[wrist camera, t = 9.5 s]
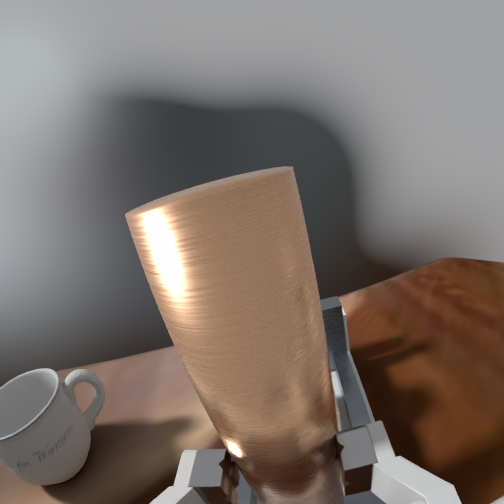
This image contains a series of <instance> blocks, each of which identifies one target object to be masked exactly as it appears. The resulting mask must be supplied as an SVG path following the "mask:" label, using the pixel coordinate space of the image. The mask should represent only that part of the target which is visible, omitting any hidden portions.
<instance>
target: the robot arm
mask: <svg viewBox="0 0 504 504" xmlns="http://www.w3.org/2000/svg"><path fill="white" fill-rule="evenodd" d="M336 441H337V448H338V462H339V467H340V471H342V482H343V487H344V492H345V496H348V495H352V494H357V493H361V492H365V491H369V490H371V492H373V493H374V494H375V495H376V496H378V497H379V498H380V499H381V500H382V501H384V502H385V503H386V504H461V501H460V499H459V497H458V494H457V492H456V490H455V488H454V485H452V484H450V483H448V482H446V481H444V480H442V479H441V478H439V477H437V476H435V475H433V474H431V473H430V472H428V471H426V470H424V469H422V468H421V467H419V466H417V465H415V464H414V463H412V462H410V461H408V460H407V459H405V458H403V457H402V456H397V457H396V456H395V453H394V451H393V448H392V446H391V443H390V440H389V438H388V435H387V433H386V430H385V428H384V425H383V422H381V421H377V422H373V423H370V424H366V425H361V426H358V427H354V428H350V429H346V430H342V431H338V432H337V433H336ZM239 480H240V476H239V469H238V467H237V465H236V464H235V462H234V460H232V459H231V455H230V453H229V452H228V450H227V449H206V450H184V452H183V453H182V455H181V459H180V463H179V467H178V471H177V474H176V478H175V482H174V486H169V487H168V488H167V489H166V490H165V491H163V492H162V493H161V494H160V495H159V496H158V497H157V498H155V499H154V500H153V501H152V502H151V503H149V504H238V493H237V492H236V490H235V488H236V487H237V486H238V485H239ZM490 504H504V495H503V496H502V497H500V498H499V499H497V500H495V501H494V502H492V503H490Z"/></svg>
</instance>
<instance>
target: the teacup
mask: <svg viewBox="0 0 504 504" xmlns="http://www.w3.org/2000/svg"><path fill="white" fill-rule="evenodd" d="M80 382H88V383H90V384H92V385H93V387H94V389H95V396H94V399H93V402H92V403H91V405H90V407H89V408H88V409H87V410H86V412H85V413H82V412H81V410H80V408H79V407H78V406H77V404H76V397H75V394H74V388H75V385H77V384H78V383H80ZM104 401H105V388H104V385H103V383H102V381H101V380H100V378H99V377H98V376H97V375H96V374H95V373H93V372H91V371H89V370H85V369H77V370H75V371H73V372H71V373H70V374H69V375H68V376H67V378H66V379H65V381H64V383H62V382H61V379H60V377H59V375H58V374H57V373H56V372H55V371H54V370H51V369H46V368H45V369H37V370H33V371H29V372H26V373H24V374H22V375H19V376H17V377H16V378H14V379H12V380H10V381H9V382H7V383H6V384H5V385H4V386H2V387H0V461H1V462H2V463H3V464H4V465H5V466H6V467H7V468H8V469H9V470H10V471H11V472H13V473H14V474H15V475H16V476H18V477H19V478H21V479H22V480H24V481H26V482H28V483H31V484H35V485H51V484H57V483H61V482H64V481H66V480H68V479H70V478H72V477H73V476H74V475H76V474H77V473H78V472H79V470H80V469H81V468H82V467H83V465H84V463H85V461H86V458H87V455H88V451H89V448H90V443H91V434H90V431H91V430H92V429H93V428H94V427H95V419H96V417H97V416H98V414H99V412H100V411H101V409H102V407H103V404H104Z"/></svg>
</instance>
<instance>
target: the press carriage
mask: <svg viewBox="0 0 504 504" xmlns="http://www.w3.org/2000/svg"><path fill="white" fill-rule="evenodd" d="M125 216H126V219H127V222H128V226H129V228H130V232H131V235H132V237H133V241H134V243H135V246H136V249H137V252H138V255H139V258H140V261H141V263H142V266H143V269H144V271H145V274H146V277H147V280H148V282H149V285H150V287H151V290H152V292H153V295H154V298H155V300H156V303H157V305H158V308H159V310H160V313H161V315H162V317H163V320H164V322H165V325H166V327H167V329H168V331H169V334H170V336H171V339H172V341H173V343H174V345H175V348H176V350H177V352H178V354H179V356H180V359H181V361H182V363H183V365H184V367H185V369H186V371H187V374H188V376H189V378H190V380H191V382H192V384H193V386H194V388H195V390H196V392H197V394H198V396H199V398H200V400H201V402H202V404H203V406H204V408H205V410H206V412H207V414H208V415H209V417H210V419H211V421H212V423H213V425H214V427H215V428H216V430H217V432H218V434H219V436H220V438H221V439H222V441H223V443H224V445H225V446H226V448H227V450H228V452H229V453H230V455H231V457H232V459H233V460H234V462H235V464H236V465H237V467H238V469H239V476H240V480H239V485H238V486H237V487H236V488H235V490H236V492H237V493H238V504H256V501H257V499H258V500H259V502H260V503H261V504H386V503H385V502H384V501H382V500H381V499H380V498H379V497H378V496H376V495H375V494H374V493H373V492H371V490H369V491H365V492H361V493H357V494H352V495H348V496H344V491H343V482H342V471H340V467H339V462H338V448H337V441H336V433H337V432H338V424H337V416H336V407H335V399H334V391H333V383H332V376H331V370H333V369H335V372H336V376H337V379H338V383H339V386H340V390H341V394H342V397H343V401H344V405H345V409H346V412H347V416H348V420H349V424H350V428H354V427H358V426H361V425H366V424H370V423H371V421H370V418H369V414H368V411H367V408H366V405H365V402H364V400H363V397H362V394H361V391H360V388H359V385H358V382H357V379H356V376H355V373H354V371H353V368H352V365H351V362H350V359H349V357H348V354H347V346H346V337H345V328H344V320H343V312H342V305H341V303H340V301H339V299H338V297H337V296H336V297H332V298H327V299H323V300H320V298H319V293H318V287H317V282H316V276H315V271H314V265H313V260H312V255H311V250H310V244H309V239H308V234H307V230H306V225H305V220H304V215H303V211H302V206H301V201H300V197H299V193H298V188H297V183H296V179H295V175H294V170H293V167H277V168H271V169H265V170H259V171H254V172H250V173H245V174H240V175H236V176H232V177H228V178H225V179H221V180H216V181H213V182H209V183H206V184H202V185H199V186H196V187H192V188H189V189H186V190H183V191H180V192H177V193H174V194H171V195H168V196H165V197H162V198H160V199H157V200H154V201H152V202H149V203H147V204H144V205H142V206H140V207H138V208H135V209H134V210H131V211H130V212H128V213H126V214H125Z"/></svg>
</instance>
